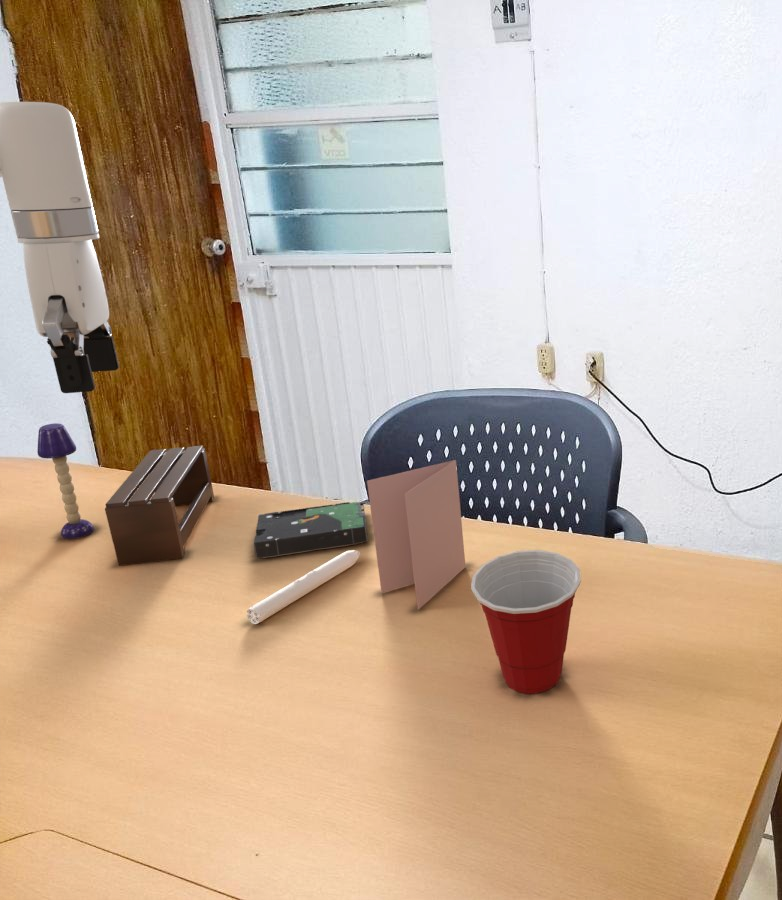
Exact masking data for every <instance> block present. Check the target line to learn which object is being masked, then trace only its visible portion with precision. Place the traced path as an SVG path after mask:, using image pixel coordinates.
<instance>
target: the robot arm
mask: <svg viewBox="0 0 782 900" xmlns="http://www.w3.org/2000/svg"><path fill="white" fill-rule="evenodd" d="M0 178H2V182H3V186H4V189H5V194H6V198H7V202H8V206H9V209H10V215H11V218H12V222H13V227H14V230H15V231H14V232H15V234H16V239H17V243H18V244H22V247H23V248H22V249H23V261H24V262H23V263H24V268H25V276H26V283H27V289H28V293H29V294H28V295H29V299H30V303H31V309H32V314H33V319H34V323H35V328H36V332H37V333H38V334H39V335H40V336H41V337H43V338H46V343H47V345H48V346H49V348H50V350H49V351H50V356H51V358H52V360H53V364H54V368H55V372H56V377H57V380H58V383H59V385H58V386H59V389H60V392H61V393H63V394H74V393H77V394H78V393H89V392H93V391H95V389H96V386H95V385H96V384H95V380H94V377H93V373H98V372H99V373H100V372H112V371H117V370H119V368H120V365H119V360H118V354H117V351H116V346H115V341H114V336H112V335H113V332H112V328H111V325H110V323H109V318H110V309H109V302H108V297H107V292H106V288H105V287H106V286H105V283H104V280H103V275H102V271H101V267H100V264H99V261H98V256H97V253H96V251H95V247H94V244H93V240H98V239H100V233H99V229H98V224H97V219H96V215H95V210H94V207H93V201H92V198H91V197H92V196H91V192H90V187H89V183H88V182H89V181H88V177H87V173H86V168H85V164H84V157H83V154H82V150H81V144H80V139H79V136H78V131H77V127H76V121H75V119H74V116H73V114H72V112H71V111H70V110H69V109H68V108H67V107H66V106H64V105H62V104H59V103H55V102H45V101H5V102H0ZM71 338H73V341H72V339H71Z"/></svg>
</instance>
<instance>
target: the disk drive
mask: <svg viewBox="0 0 782 900" xmlns="http://www.w3.org/2000/svg"><path fill="white" fill-rule="evenodd" d="M366 520H367V518H366V511H365V504H364V502H363V501H351V502H350V501H348V502H347V501H346V502H340V503H335V504H326V505H319V506H312V507H304V508H297V509H291V510H290V509H288V510H283V511H274V512H273V511H272V512H268V513H262V514H259V515H258V517H257V523H256V527H255V528H256V529H255V536H254V539H253V547H254V552H255V556H256V558H257V559H260V558H263V559H266V558H273V557H279V556H286V555H293V554H294V555H295V554H300V553H305V552H312V551H313V552H314V551H315V550H316V551H318V550H325V549H332V548H341V547H346V546H351V545H358V544H363V543H366V542H369V537H368V528H367V521H366Z"/></svg>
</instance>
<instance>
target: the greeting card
mask: <svg viewBox="0 0 782 900" xmlns="http://www.w3.org/2000/svg"><path fill="white" fill-rule="evenodd" d="M366 483H367V484H366V485H367V493H368V500H369V507H370V513H371V524H372V529H373V537H374V545H375V553H376V561H377V569H378V576H379V584H380V591H381V594H383V593H387V592H391V591H395V590H397V589H401V588H403V587H406V586H409V585H413V584H414V589H415V597H416V598H415V599H416V607H417V610H418V611H419V610H420V609H422V607H423V606H424V605H425V604H426V603H428V602H429V601H430V600H431V599H432V598H433V597H434V596H436V594H437V593H439V592H440V591H441V590H442V589H443V588H444V587H445V586H447V584H449V583H450V582H451V581H453V579H454V578H456V576H458V574H460V573H461V572H462V571H463V570H464V569H466V567H467V566H466V555H465V547H464V546H465V545H464V534H463V521H462V512H461V499H460V490H459V477H458V466H457V460H456V459H454V460H449V461H445V462H440V463H436V464H433V465H428V466H424V467H420V468H416V469H410V470H407V471H403V472H398V473H395V474H390V475H386V476H381V477H377V478H373V479H369V480H366Z"/></svg>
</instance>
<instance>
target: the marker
mask: <svg viewBox="0 0 782 900" xmlns="http://www.w3.org/2000/svg"><path fill="white" fill-rule="evenodd" d="M360 555H361V553H360V551H359V550H354V549H352V550H346V551H344V552H342V553H340V554H339V555H337V556H335V557H333V558H332V559H330V560H328V561H327V562H324V563H322V564H321V565H320V566H318V567H315V569H311V571H309V572H307V573H306V574H305V575H302V576H301V577H299V578H297V579H295V580H293V582H291V583H290V584H288V585H285V586H284V587H282V588H281V589H279V590H278V591H275V592H274V593H272V594H271V595H269V596H267V597H266V598H264V599H262V600H260V601H259V602H257V603H255V604H254V605H252V606H250V607H249V608H248V609H246V612H245V613H246V617H247V619H248V621H249V622H250V623H251V624H253V625H258V624H259V623H261V622H263V621H265V620H267V619H268V618H269V617H271V616H273V615H274V614H276V613H278V612H280V611H281V610H283V609H284V608H286V607H288V606H289V605H291V604H293V603H294V602H295V601H297V600H299V599H300V598H302V597H304V596H306V595H307V594H310V593H311V592H312V591H314V590H316V589H317V588H319V587H320V586H322V585H323V584H325V583H326V582H328V581H330V580H331V579H333V578H335V577H337V576H338V575H340V574H341V573H343V572H344V571H346V570H348V569H349V568H351V567H352V566H353V565H355V564H356V563H357V561H358V559H359V557H360Z"/></svg>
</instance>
